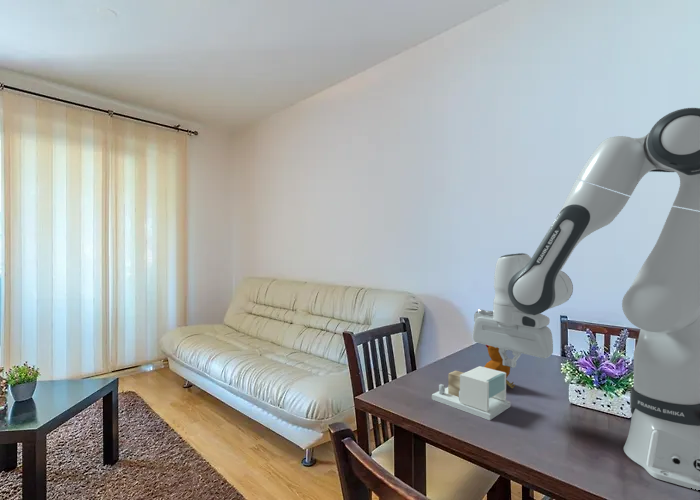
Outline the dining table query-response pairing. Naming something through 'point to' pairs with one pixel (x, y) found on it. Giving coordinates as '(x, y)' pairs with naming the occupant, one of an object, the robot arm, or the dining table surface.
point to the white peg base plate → (494, 406)
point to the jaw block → (454, 383)
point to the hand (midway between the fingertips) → (509, 366)
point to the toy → (497, 363)
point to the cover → (482, 387)
